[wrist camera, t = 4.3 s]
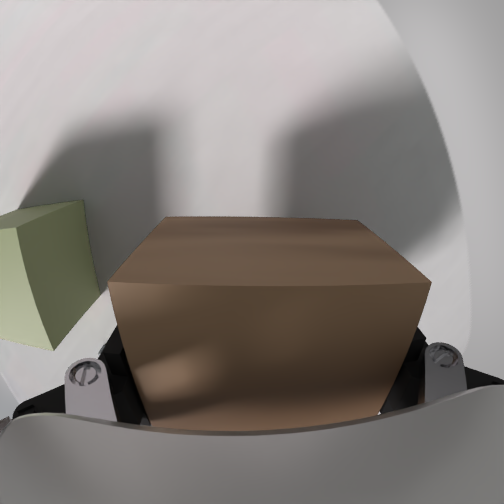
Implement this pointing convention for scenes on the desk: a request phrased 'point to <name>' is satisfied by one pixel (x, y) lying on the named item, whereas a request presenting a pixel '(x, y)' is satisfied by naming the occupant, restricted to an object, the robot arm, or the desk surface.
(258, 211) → the desk surface
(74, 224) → the olive block
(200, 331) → the walnut block
